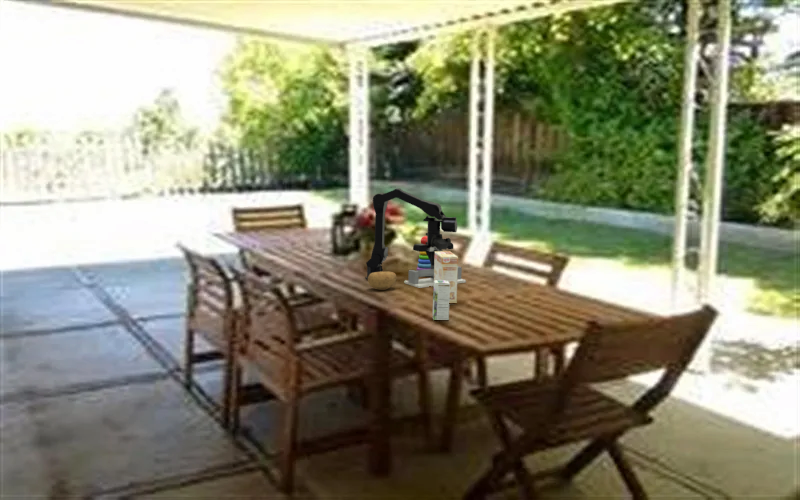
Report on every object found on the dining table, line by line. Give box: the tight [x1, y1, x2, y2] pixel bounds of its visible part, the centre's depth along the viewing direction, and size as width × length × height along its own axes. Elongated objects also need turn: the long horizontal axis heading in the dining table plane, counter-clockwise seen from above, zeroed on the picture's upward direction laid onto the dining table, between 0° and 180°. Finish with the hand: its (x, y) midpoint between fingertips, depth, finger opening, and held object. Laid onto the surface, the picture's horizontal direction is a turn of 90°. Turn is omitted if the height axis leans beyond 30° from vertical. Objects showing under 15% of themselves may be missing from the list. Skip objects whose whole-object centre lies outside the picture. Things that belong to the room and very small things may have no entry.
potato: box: [367, 271, 398, 291], centre depth 390 cm, size 10×14×8 cm
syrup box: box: [432, 280, 450, 321], centre depth 337 cm, size 6×6×14 cm
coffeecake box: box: [434, 250, 459, 303], centre depth 369 cm, size 15×7×20 cm, turn 9°
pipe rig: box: [403, 265, 467, 289], centre depth 406 cm, size 26×12×7 cm, turn 123°
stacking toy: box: [416, 235, 431, 277], centre depth 423 cm, size 8×8×19 cm
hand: (433, 265), depth 405 cm, fingers closed
